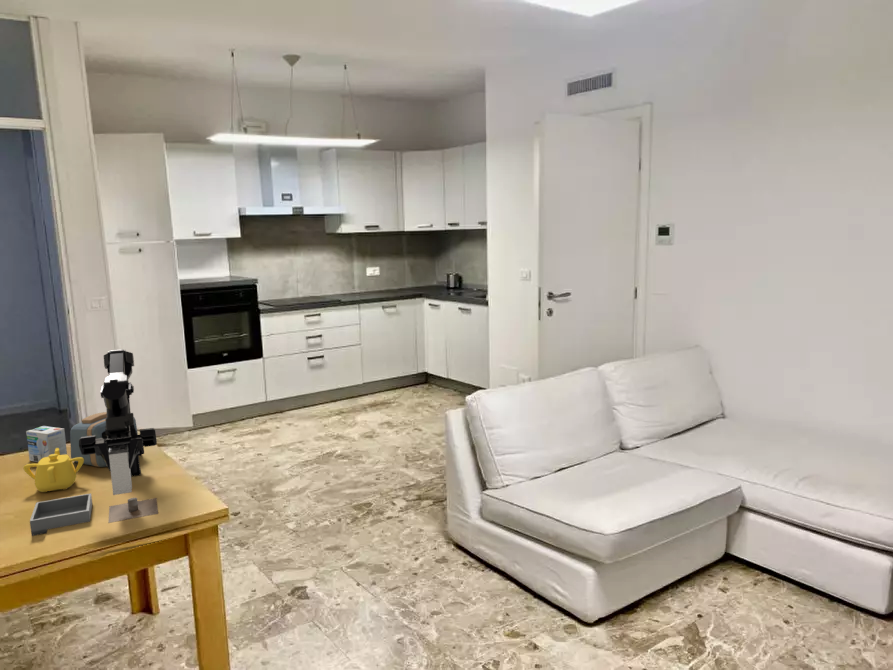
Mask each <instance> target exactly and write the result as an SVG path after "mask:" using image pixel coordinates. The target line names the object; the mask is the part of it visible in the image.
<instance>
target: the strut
mask: <svg viewBox="0 0 893 670" xmlns="http://www.w3.org/2000/svg"><path fill="white" fill-rule="evenodd" d="M109 460H110V470H111V471H110V477H111V478H110V479H111V487H112V495H113V496H116V495H123V494H129V493H132V489H133V483H132V477H131V471H130V469H129V452H128V445H122V446H114V447H110V448H109Z"/></svg>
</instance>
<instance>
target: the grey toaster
mask: <svg viewBox="0 0 893 670" xmlns="http://www.w3.org/2000/svg"><path fill="white" fill-rule="evenodd" d="M106 418H107V411H105V412H104V411H103V412H97V413H93V414H91V415H88V416H87V417H84V418H82V419H81V422H79V423H77V424H74V425H73V426H72V427H71V429H70V431H69V434H70V435H69V436H70V437H69V438H70V439H69V441H70V459H73V458H77V457H82V458H84V463H83V465H87V466H91V467H92V466H93V467H97V468H105V467H107V465H106V463H105V461H104V459H103V458H102V457H101V456H97V455H96V453H95V454H89V455H82V454H81V451H80V448H79V439H80V438H81V437H85V436H93V435H95V436H96V439H99V438H105V439H107V436H106V429H105V426H106V420H105V419H106ZM132 426H133V427H134V429H135V430H136V431H137V433H138V428H137V427H138V425H137V422H136V418H135V417H134V425H132ZM138 434H139V433H138ZM110 447H111V446H107V449H108V453H109V448H110ZM73 463H77V464H78V461H73Z"/></svg>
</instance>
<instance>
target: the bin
mask: <svg viewBox="0 0 893 670" xmlns="http://www.w3.org/2000/svg"><path fill="white" fill-rule="evenodd" d="M92 498H93V497H92V493H91V492H90V493H84V494H79V495H72V496H68V497H67V496H66V497H60V498H55V499H51V500H50V499H49V500H43V501H37V502H36V503H35V505H34V508H33V510H32V512H31V513H32V514H31V516H30V519H29V527H30V533H31V536H32V537H34V536H37V535H38V536H39V535H44V534H47V533H48V530H52V529H53V530H54V529H57V528H63V527H64V528H65V527H68V526H74V525H79V524H83V523H89V522H90V521H91V518H92V517H91V516H92V508H93V499H92Z"/></svg>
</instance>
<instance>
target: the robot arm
mask: <svg viewBox="0 0 893 670" xmlns="http://www.w3.org/2000/svg"><path fill="white" fill-rule="evenodd" d="M103 365H104V366H103V367H104V369H105V370H106V369H107V373H108V375H107V376H106V377H104V379H103V385H101V386H100V387H101V388H100V397H101V399H103V401H104V406H105V411H106V412H107V418H106V419H105V420H106V426H105V429H106V436H107V439H105V438H99V439H96V436H95V435H93V436H85V437H81V438H80V439H79V448H80V451H81V454H82V455H89V454H95V453H96V455H97V456H101V457H102V458H103V459H104V461H105V463H106V465H107V466H106V467H107V469H108V471H109V472H111V470H110V460H109V453H108V449H107V446H111V447H114V446H122V445H128V452H129V469H130V471H131V478H132V477H137V476H141V473H142V472H141V467H140V466H141V465H140V458H139V457H142V456H143V455H144V454H145V448H146V447H153V446H156V445H158V443H157V441H158V440H157V431H156V429H155V428H154V427H150V428H143V429H139V433H137V432H138V430H137V431H136V430H135V429H134V427H133V426H132V425H134V418H135V417H134V412H131V401H130V400H131V399H130V397H131V396H132V395H133V393H134V391H135V387H134V385H133V384H132V382H129V380H130V378H131V376H132V374H133V367H135V360H134V353H133V352H131V351H127V350H126V349H123V348H122V349H113V350H112V349H111V350H108V351H107V353H106V354H104V355H103Z"/></svg>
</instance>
